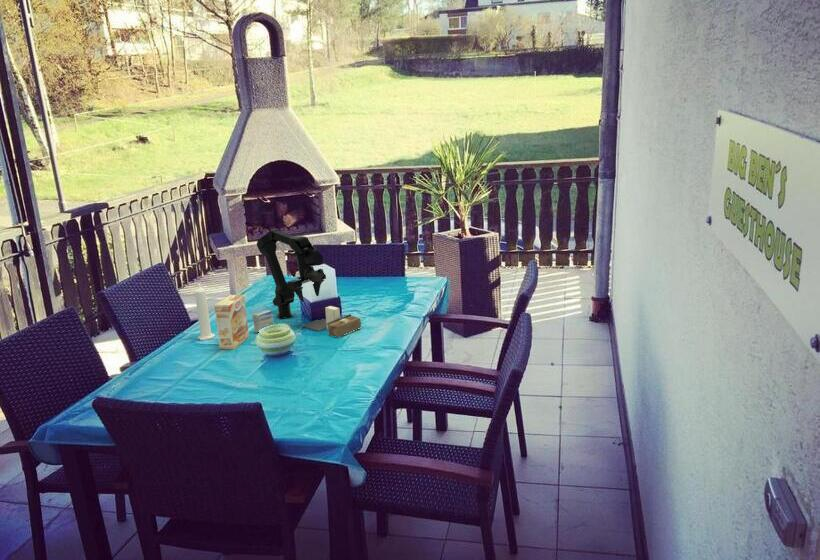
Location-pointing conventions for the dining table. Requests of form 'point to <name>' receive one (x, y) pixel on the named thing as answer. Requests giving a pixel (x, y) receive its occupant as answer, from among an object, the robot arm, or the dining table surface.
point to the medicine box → (262, 320)
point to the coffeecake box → (231, 321)
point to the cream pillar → (332, 313)
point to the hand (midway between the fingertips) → (310, 298)
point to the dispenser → (343, 325)
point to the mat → (316, 325)
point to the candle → (203, 314)
